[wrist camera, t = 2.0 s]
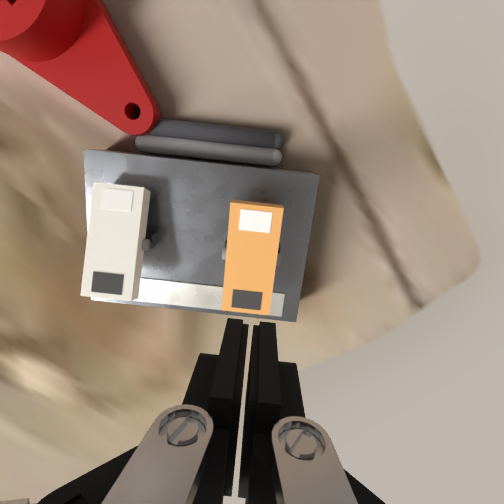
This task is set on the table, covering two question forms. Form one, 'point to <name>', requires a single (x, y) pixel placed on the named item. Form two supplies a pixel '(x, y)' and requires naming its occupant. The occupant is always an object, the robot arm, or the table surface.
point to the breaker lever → (251, 256)
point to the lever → (80, 57)
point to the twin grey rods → (213, 142)
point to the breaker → (115, 241)
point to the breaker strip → (207, 225)
